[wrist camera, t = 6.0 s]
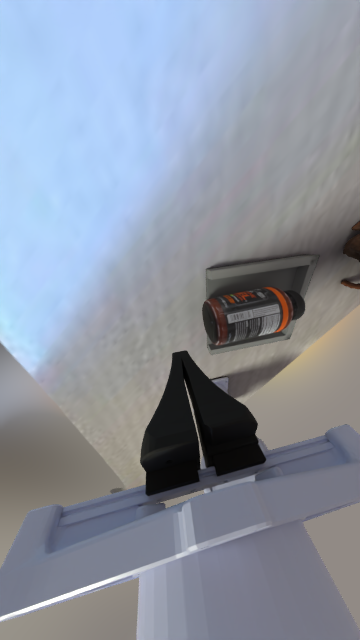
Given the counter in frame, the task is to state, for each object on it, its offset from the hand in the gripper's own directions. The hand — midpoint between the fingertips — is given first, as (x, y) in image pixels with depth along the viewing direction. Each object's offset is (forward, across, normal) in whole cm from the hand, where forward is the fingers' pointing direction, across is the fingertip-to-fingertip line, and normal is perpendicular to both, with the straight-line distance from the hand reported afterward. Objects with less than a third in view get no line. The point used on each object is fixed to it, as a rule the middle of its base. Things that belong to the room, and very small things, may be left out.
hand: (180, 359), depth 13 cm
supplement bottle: (+4, -4, -1) cm, 6 cm away
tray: (+8, -12, 0) cm, 15 cm away
